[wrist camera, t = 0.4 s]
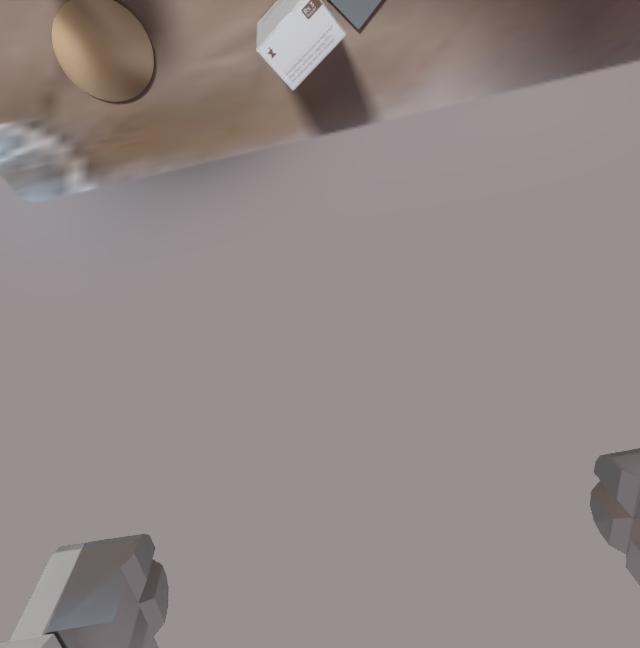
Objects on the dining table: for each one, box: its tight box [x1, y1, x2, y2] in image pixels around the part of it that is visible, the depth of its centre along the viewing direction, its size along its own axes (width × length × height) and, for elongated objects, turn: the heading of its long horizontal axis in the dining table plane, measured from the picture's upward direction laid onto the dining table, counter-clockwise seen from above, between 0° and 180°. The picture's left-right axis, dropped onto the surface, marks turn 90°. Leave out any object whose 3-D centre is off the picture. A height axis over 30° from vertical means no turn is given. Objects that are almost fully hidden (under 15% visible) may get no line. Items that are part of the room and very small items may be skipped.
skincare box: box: [256, 0, 347, 91], centre depth 41 cm, size 6×4×12 cm
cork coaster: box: [52, 0, 154, 102], centre depth 46 cm, size 9×9×1 cm
